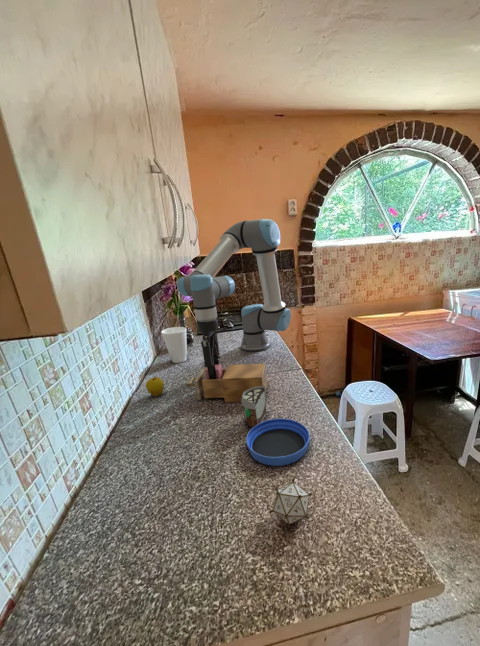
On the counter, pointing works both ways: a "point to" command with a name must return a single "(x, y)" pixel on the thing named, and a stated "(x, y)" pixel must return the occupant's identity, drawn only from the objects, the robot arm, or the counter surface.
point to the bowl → (278, 441)
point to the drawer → (207, 386)
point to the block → (218, 371)
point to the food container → (254, 405)
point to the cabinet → (242, 380)
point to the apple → (155, 386)
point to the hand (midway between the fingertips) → (215, 378)
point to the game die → (291, 503)
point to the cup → (176, 343)
